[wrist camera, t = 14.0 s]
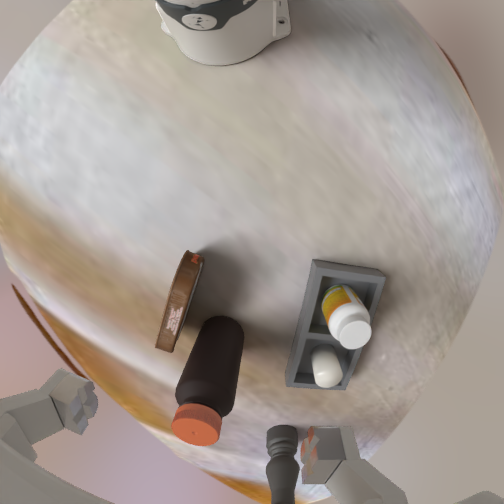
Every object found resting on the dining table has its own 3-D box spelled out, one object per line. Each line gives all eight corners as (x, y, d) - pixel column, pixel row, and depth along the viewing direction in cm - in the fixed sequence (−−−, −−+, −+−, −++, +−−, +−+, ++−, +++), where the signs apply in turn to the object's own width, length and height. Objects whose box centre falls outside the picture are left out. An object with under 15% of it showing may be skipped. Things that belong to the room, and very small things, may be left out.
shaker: (313, 342, 42) (319, 366, 36) (338, 344, 42) (346, 367, 36) (307, 362, 43) (311, 387, 37) (331, 364, 43) (338, 388, 37)
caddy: (312, 259, 39) (316, 267, 36) (377, 269, 39) (385, 277, 35) (285, 372, 44) (285, 386, 41) (341, 377, 44) (345, 390, 41)
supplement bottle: (315, 313, 40) (327, 351, 31) (326, 280, 39) (342, 311, 30) (349, 319, 40) (367, 356, 31) (360, 286, 39) (384, 318, 30)
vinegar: (218, 306, 42) (184, 401, 22) (253, 333, 43) (242, 435, 23) (192, 334, 43) (151, 427, 24) (226, 358, 44) (203, 457, 25)
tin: (192, 242, 39) (173, 260, 31) (212, 251, 40) (198, 270, 31) (165, 327, 43) (147, 357, 35) (183, 335, 44) (168, 366, 36)
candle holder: (279, 421, 48) (279, 534, 24) (303, 431, 49) (312, 537, 24) (260, 435, 49) (254, 541, 25) (284, 445, 50) (285, 545, 26)
